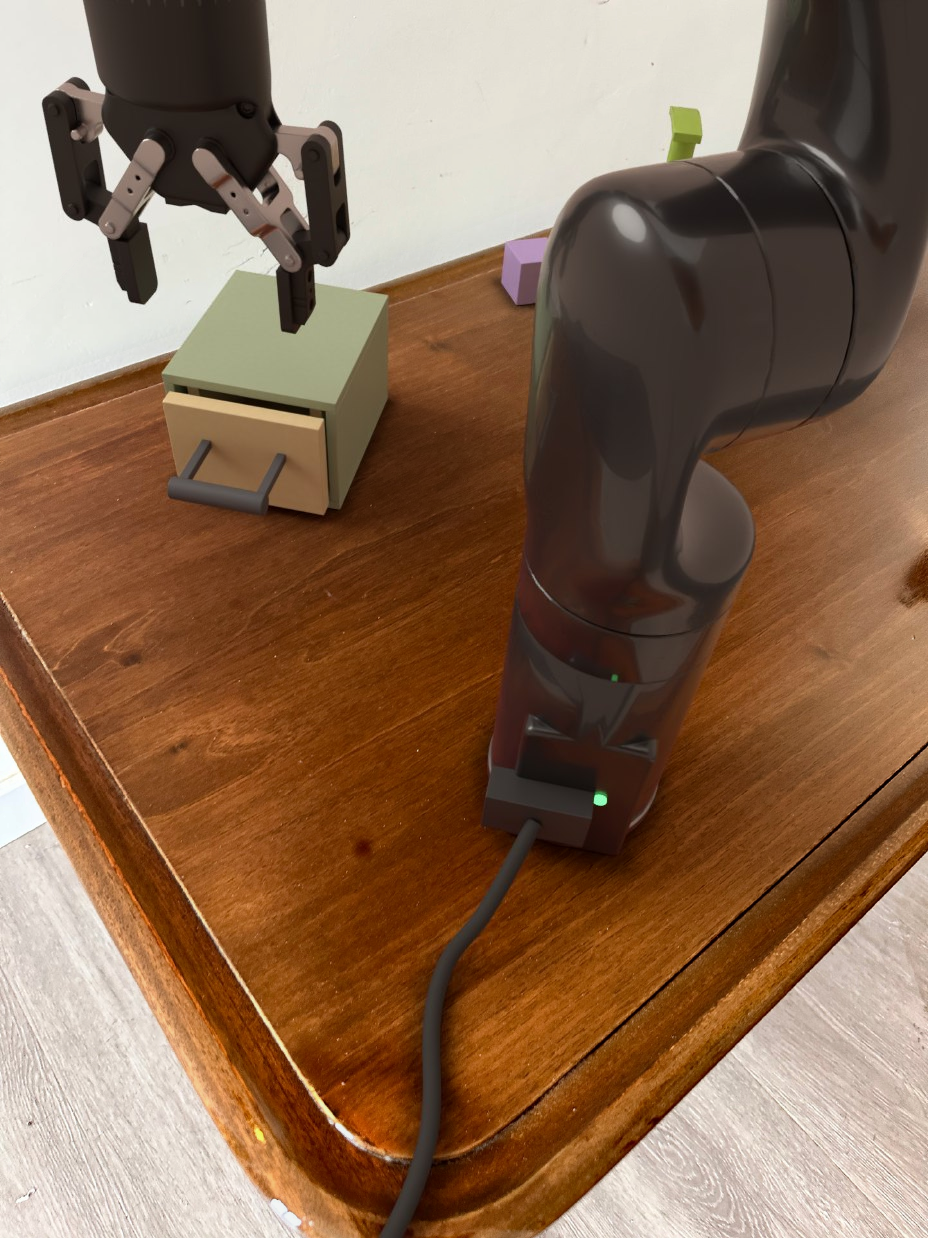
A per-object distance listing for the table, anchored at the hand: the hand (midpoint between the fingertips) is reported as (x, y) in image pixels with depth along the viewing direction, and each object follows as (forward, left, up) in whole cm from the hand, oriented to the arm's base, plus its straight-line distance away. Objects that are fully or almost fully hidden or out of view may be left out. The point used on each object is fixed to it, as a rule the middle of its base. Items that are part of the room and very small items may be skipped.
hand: (219, 311), depth 51 cm
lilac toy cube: (+36, -14, -16) cm, 42 cm away
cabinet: (+10, 0, -16) cm, 19 cm away
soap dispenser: (+26, -24, -17) cm, 39 cm away
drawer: (+5, 0, -16) cm, 17 cm away
